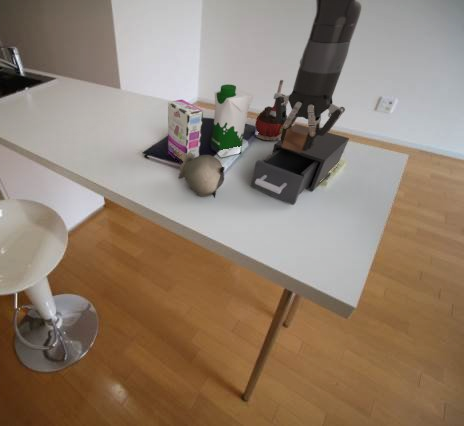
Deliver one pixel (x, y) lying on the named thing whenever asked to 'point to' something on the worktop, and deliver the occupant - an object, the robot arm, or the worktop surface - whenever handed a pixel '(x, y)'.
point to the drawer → (284, 175)
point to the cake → (269, 121)
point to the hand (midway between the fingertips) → (295, 145)
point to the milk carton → (230, 116)
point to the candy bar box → (184, 128)
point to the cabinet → (322, 155)
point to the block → (295, 138)
